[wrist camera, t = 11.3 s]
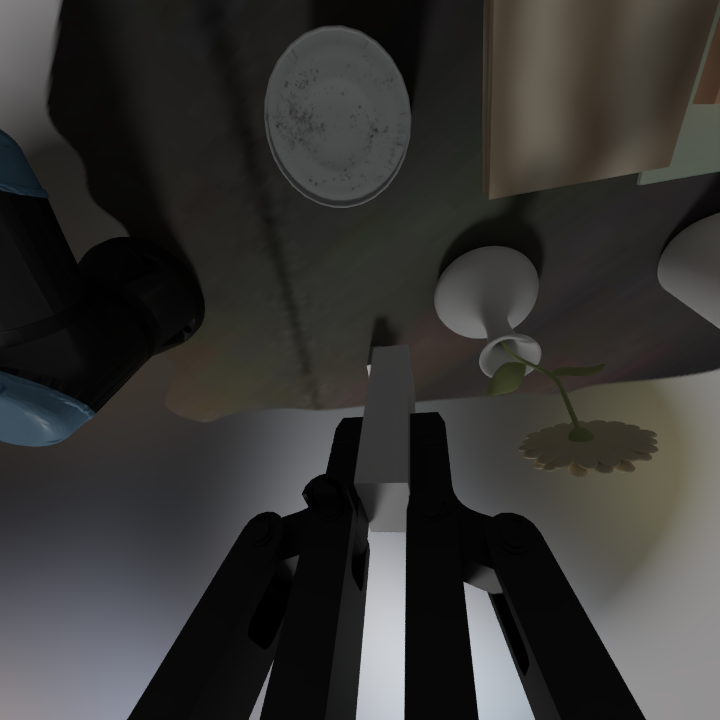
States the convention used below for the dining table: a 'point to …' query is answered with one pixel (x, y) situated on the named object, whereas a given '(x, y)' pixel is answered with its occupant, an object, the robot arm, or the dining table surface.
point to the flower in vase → (529, 360)
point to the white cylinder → (337, 116)
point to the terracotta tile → (710, 73)
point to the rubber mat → (693, 136)
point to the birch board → (585, 88)
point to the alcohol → (695, 267)
